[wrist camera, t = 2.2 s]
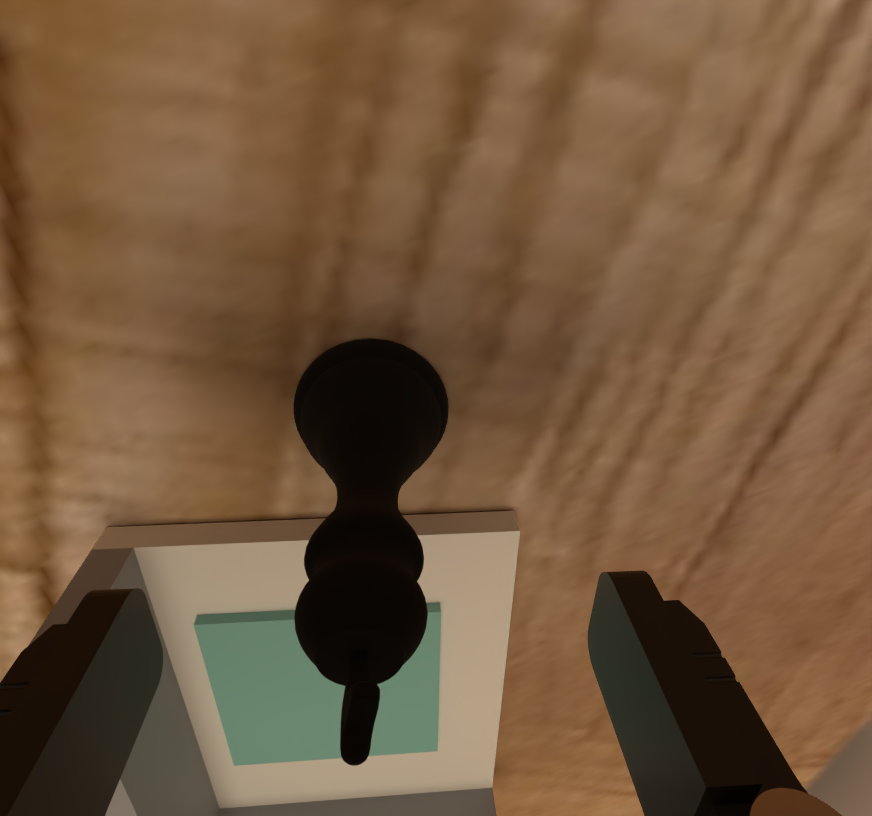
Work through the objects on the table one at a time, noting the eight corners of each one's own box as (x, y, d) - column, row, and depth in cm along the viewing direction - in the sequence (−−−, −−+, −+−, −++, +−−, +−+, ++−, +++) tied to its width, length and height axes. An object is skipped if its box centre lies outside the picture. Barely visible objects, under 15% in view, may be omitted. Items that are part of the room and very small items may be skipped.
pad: (196, 615, 18) (193, 624, 18) (439, 602, 19) (440, 611, 19) (236, 755, 22) (233, 765, 22) (436, 741, 23) (437, 751, 22)
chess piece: (460, 348, 16) (553, 664, 7) (433, 476, 18) (479, 845, 9) (299, 326, 15) (176, 646, 6) (291, 462, 17) (189, 845, 8)
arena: (106, 527, 18) (13, 668, 13) (513, 510, 19) (553, 637, 14) (202, 800, 25) (164, 946, 21) (487, 778, 26) (506, 914, 22)
